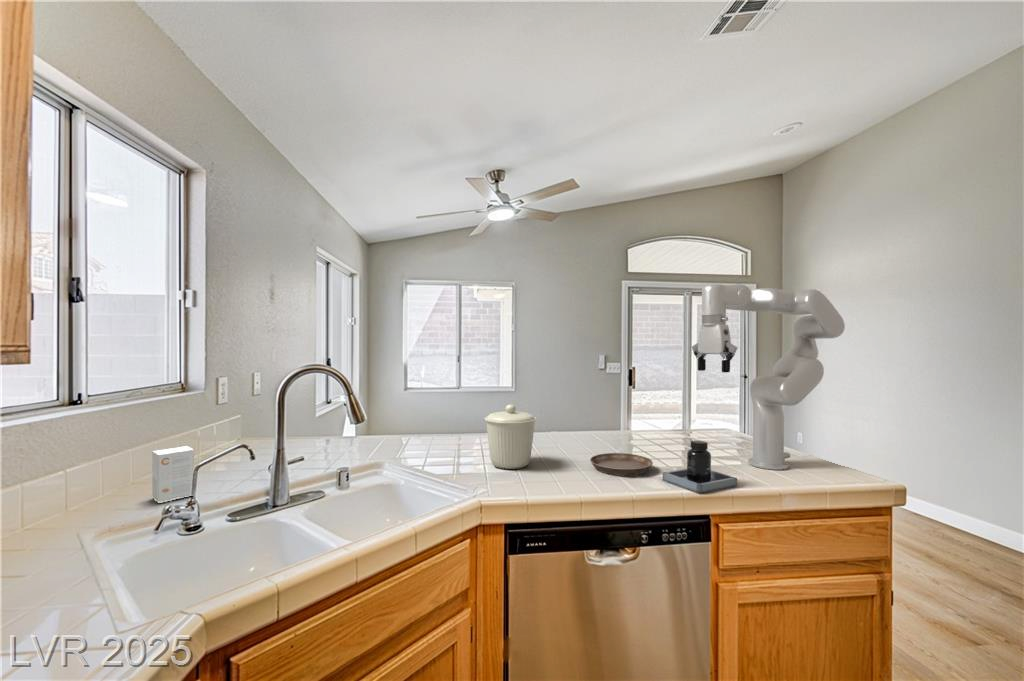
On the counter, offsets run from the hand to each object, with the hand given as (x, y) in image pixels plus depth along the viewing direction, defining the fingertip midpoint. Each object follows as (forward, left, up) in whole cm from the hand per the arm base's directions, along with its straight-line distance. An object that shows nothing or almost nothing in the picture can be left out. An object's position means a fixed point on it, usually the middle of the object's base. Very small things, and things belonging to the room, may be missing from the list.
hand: (713, 371), depth 155 cm
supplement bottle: (+17, +9, -33) cm, 38 cm away
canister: (+60, -34, -34) cm, 77 cm away
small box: (+157, -44, -34) cm, 166 cm away
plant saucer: (+28, -14, -34) cm, 46 cm away
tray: (+17, +9, -33) cm, 38 cm away
